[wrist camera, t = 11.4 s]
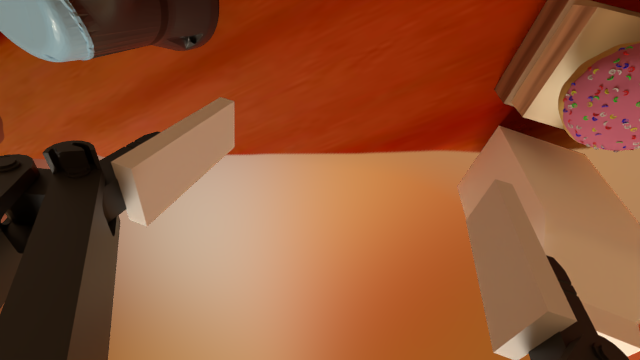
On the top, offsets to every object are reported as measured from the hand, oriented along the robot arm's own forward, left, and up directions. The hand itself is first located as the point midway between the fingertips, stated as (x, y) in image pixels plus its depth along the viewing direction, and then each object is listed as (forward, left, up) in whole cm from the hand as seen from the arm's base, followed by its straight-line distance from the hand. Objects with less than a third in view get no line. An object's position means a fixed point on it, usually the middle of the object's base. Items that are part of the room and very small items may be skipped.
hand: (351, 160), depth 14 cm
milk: (+23, -11, -32) cm, 41 cm away
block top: (+19, +4, -26) cm, 32 cm away
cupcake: (+19, +4, -20) cm, 28 cm away
